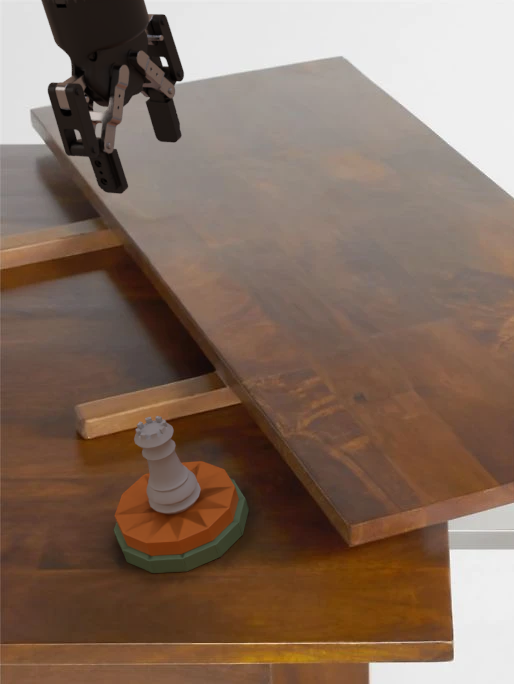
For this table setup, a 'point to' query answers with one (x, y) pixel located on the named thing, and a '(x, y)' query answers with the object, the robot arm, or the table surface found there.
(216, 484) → the ring stack
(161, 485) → the grey chess rook
